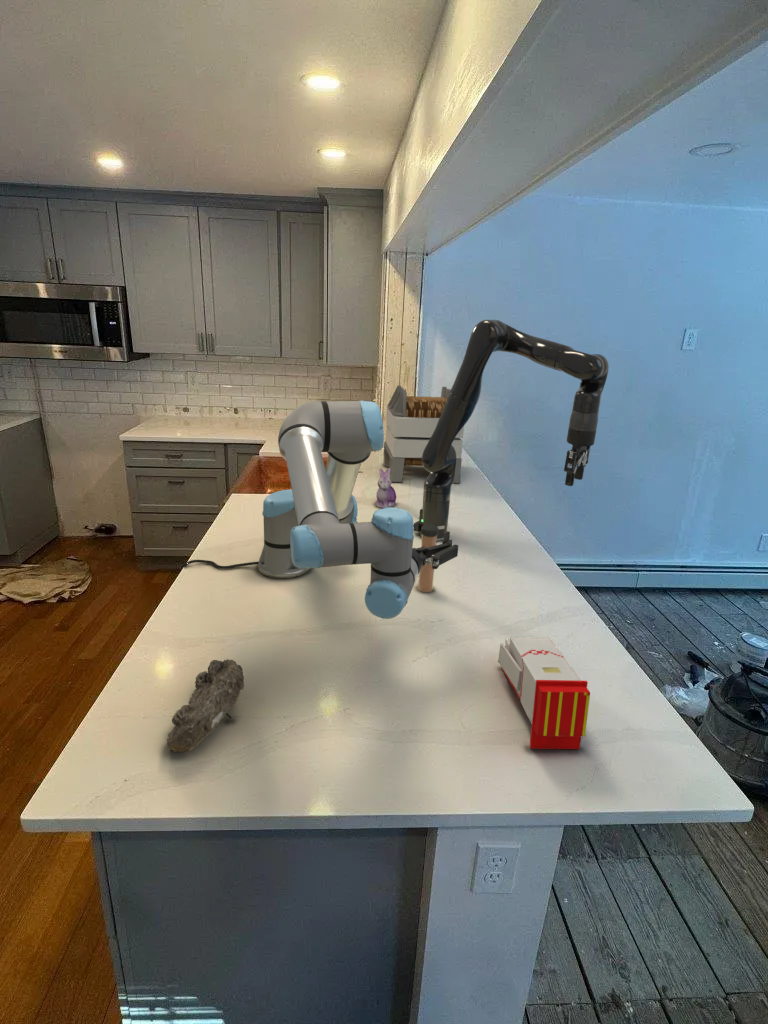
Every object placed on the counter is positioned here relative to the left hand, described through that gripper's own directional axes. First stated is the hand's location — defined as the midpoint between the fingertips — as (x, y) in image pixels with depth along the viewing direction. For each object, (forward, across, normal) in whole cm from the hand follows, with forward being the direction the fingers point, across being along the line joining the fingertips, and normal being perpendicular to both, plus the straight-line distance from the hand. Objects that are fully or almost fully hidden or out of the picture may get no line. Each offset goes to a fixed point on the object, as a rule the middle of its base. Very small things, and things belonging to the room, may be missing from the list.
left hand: (419, 533), depth 136 cm
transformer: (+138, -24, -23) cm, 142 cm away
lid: (+19, 0, -6) cm, 20 cm away
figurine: (+86, -28, -24) cm, 94 cm away
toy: (-23, +30, -25) cm, 45 cm away
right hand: (+43, +38, +5) cm, 57 cm away
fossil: (-46, -30, -25) cm, 60 cm away
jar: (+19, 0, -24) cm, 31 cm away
